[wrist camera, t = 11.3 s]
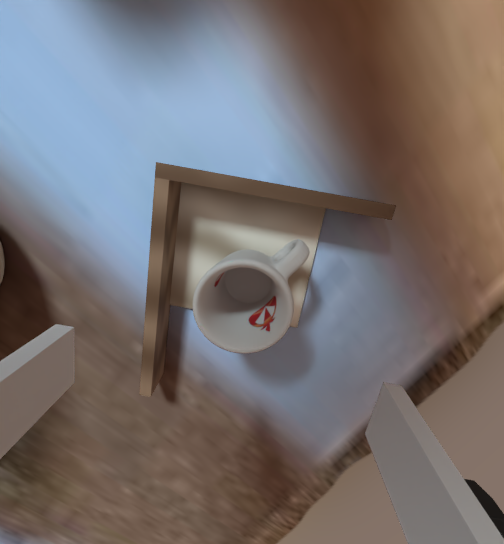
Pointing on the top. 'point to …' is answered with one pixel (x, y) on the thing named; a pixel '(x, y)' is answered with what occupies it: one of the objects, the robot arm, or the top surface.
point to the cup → (248, 298)
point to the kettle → (1, 263)
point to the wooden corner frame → (224, 240)
